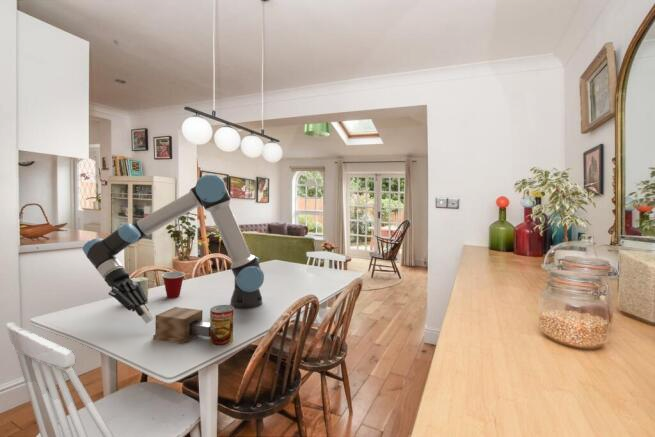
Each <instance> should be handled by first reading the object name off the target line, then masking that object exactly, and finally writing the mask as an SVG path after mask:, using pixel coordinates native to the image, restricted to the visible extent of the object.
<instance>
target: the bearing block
mask: <svg viewBox="0 0 655 437" xmlns="http://www.w3.org/2000/svg"><path fill="white" fill-rule="evenodd" d="M193 321H200V322H203V309H198V308H197V309H196V308H195V309H194V308H187V307H180V306H178V307H177V306H174V307H172V308H170V309H168V310H165V311H163V312H161V313H158V314H155V333H154V334H153V337H152V338H153V339H152V340H156V341H163V342H170V343H176V344H183V345H186V344H188V342H190V341H191V340H194V339H195V338H197V337H198V336H197V335H190V334H189V329H190V323H192V322H193Z"/></svg>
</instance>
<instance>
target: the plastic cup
mask: <svg viewBox="0 0 655 437" xmlns="http://www.w3.org/2000/svg"><path fill="white" fill-rule="evenodd" d="M185 275H186V274H185V272H183V271H169V272H168V271H167V272H164V273H162V274H161V277H162V280H163V281H164V282H163V284H164V289H165V293H166V297H167V298H168V299H175V298H178V297H180V295H181V290H182V285H183V280H184V278H185Z"/></svg>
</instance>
